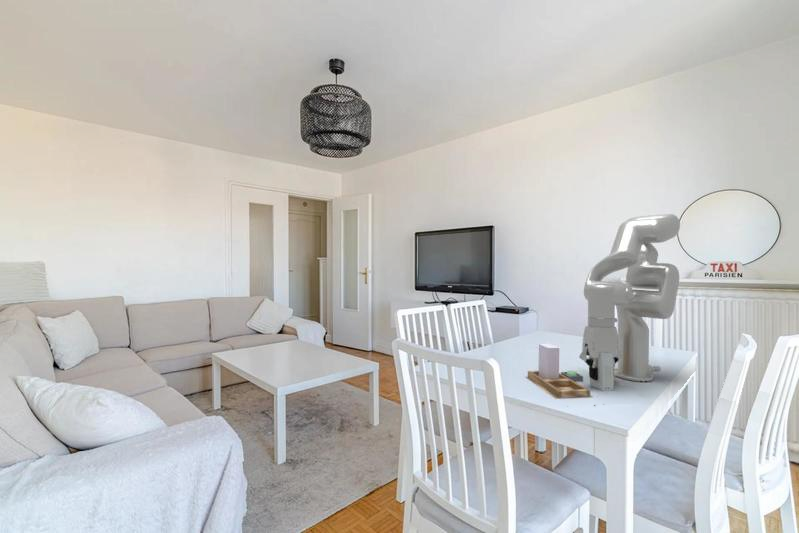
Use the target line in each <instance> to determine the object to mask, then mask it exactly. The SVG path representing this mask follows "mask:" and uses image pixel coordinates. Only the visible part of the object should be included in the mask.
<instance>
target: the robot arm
mask: <svg viewBox="0 0 799 533" xmlns="http://www.w3.org/2000/svg"><path fill="white" fill-rule="evenodd" d="M680 228H681V222H680V219H679V217H678V216H677V215H675V214H672V213H668V214H652V215H639V216H635V217H630V218H628V219H627V220H626V221H624V222H622V223H621V224H620V225H619V226H618V229H617V233H616V236H615V238H614V241H613V245H612V247H611V250H610V253H609V254H608V255H607V256H604V258H602V259H601V260H599V261H598V262H596V264H595V265H593V267H592V268H591V269H590V270H589V273H588V274H587V278H586V279H585V280H586V281H585V283H584V287H583V296H584V298H585V300H587V325H585V327H584V329H583V330H584V331H583V336H582V346H581V348H582V349H581V353H580V354H579V357H578V358H579V359H581V360H582V361H583V362H584V363H585V364H586V365H587V366H588V376H589V379H590V378H592V379H594V380H598V369H597V368H596V364H597V360H598V359H599V357H600V353H607V352H612V353H613V367H614V377H617V378H620V379H623V380H627V381H633V382H640V381H642V382H645V381H647V382H653V381H654V379H655V378H654V377H655V376H654V375H653V374H652V373H653V372H657V373H658V372H661V370H662V369H661V367H660V366H659V365H653V366H652V365H651V364H650V362H649V361H650V359H649V355H650V352H649V351H650V329H649V326H648V324H647V322H646V321H645V319H643V318H650V319H657V320H658V319H659V320H666V319H669V318H671V317H672V315H673V314H674V310H675V307H676V300H677V295H678V291H679V284H680V272H679V269H678V267H677V266H676V265H674V264H672V263H665V262H658V258H659V252H658V250H657V248H656V247H655V246H654V245H653V244H658V243H665V242H667V241H669V240H671V239H673V238H675V237H676V236H677V235H678V233H679V231H680ZM624 269H627V272H626V274H625V282H622V281H607V280H605V281H604V280H603V279H605V278H606V276H608V275H610V274H612V273H615V272H619V271H621V270H624ZM633 288H636V289H633ZM615 308H616V309H615ZM615 310H616V313H615ZM616 314H617V315H616ZM615 315H616V316H617V318H616V316H615ZM615 323H617V326H616V324H615ZM587 356H588V357H587ZM592 360H593V361H592ZM616 364H617V368H615V367H616Z"/></svg>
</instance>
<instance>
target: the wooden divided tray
mask: <svg viewBox="0 0 799 533" xmlns="http://www.w3.org/2000/svg"><path fill="white" fill-rule="evenodd" d="M525 378H526V379H527V380H529V381H530V382H532V383H533V385H536V386H537V387H539V388H540V389H541V390H543V391H544V392H545V393H547V394H548V395H550V396H551V397H552V398H554V399H555V400H556V399H557V400H558V399H577V398H581V399H582V398H594V396H593V395H591V390H590V389H589V388H587V387H585V386H583V385H582V384H580V383H579V382H574V381H573V380H571V379H569V378H567V377H566V376H564V375H562V374H561V372H559V379H542V378H540V377H539V370H528V371H527V376H525Z"/></svg>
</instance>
